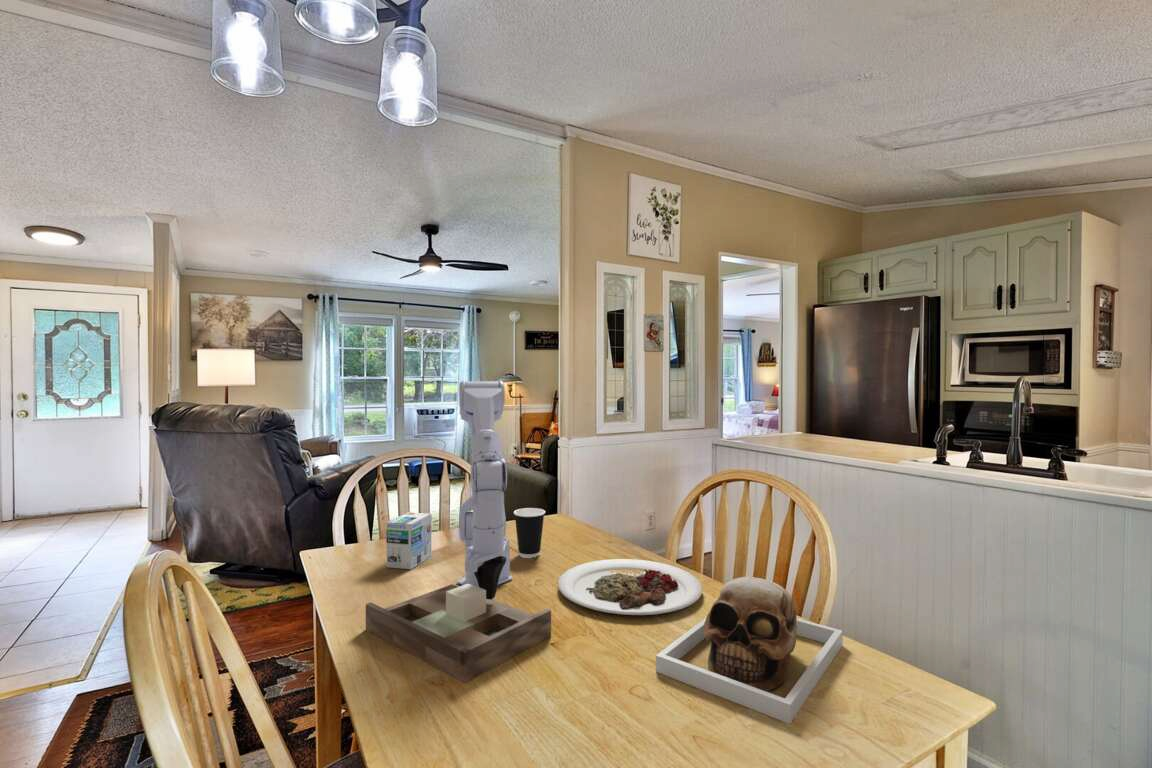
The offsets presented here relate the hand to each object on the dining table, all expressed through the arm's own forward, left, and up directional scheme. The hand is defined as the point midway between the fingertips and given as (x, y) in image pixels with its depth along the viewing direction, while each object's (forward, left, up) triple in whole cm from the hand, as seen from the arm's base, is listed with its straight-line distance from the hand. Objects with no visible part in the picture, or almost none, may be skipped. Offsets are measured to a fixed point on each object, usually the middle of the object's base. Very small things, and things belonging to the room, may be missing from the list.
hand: (488, 597), depth 103 cm
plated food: (-28, +13, -4) cm, 31 cm away
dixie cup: (-31, -19, -4) cm, 36 cm away
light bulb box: (-9, -38, -4) cm, 39 cm away
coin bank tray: (-17, +44, -3) cm, 47 cm away
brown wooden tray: (+8, +1, -3) cm, 9 cm away
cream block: (+5, 0, -1) cm, 6 cm away
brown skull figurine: (-14, +45, -4) cm, 47 cm away
